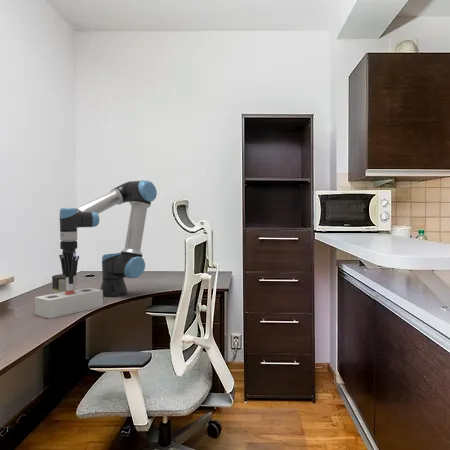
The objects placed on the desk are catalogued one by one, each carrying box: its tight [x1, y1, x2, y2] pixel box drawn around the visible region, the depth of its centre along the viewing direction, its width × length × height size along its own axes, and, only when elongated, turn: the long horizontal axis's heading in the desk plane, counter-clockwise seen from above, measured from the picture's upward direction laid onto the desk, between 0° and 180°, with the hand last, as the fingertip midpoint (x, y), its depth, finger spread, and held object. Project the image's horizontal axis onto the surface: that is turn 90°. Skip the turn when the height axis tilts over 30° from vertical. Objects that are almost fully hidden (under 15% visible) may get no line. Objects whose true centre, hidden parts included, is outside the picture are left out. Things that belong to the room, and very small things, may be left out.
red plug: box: [65, 289, 75, 295], centre depth 194 cm, size 4×4×7 cm
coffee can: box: [51, 273, 75, 294], centre depth 210 cm, size 10×10×14 cm
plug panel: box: [34, 287, 104, 320], centre depth 195 cm, size 28×12×8 cm, turn 143°
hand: (69, 290), depth 194 cm, fingers closed
